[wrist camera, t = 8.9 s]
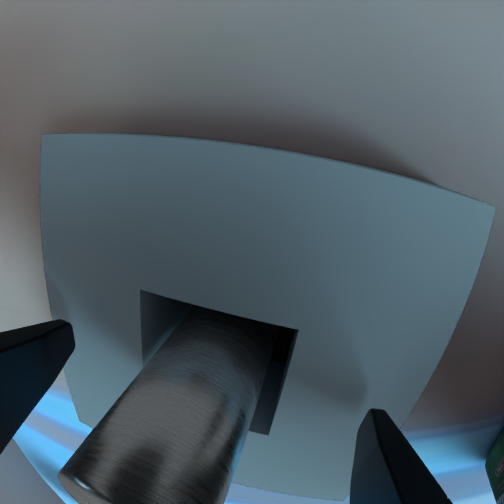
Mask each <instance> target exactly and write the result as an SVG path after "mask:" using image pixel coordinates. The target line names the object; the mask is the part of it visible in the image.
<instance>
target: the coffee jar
mask: <svg viewBox="0 0 504 504" xmlns="http://www.w3.org/2000/svg"><path fill="white" fill-rule="evenodd" d="M485 468H486V472H487V475H488V478H489V482H490V485H491V488H492V491H493V494H494V497H495V500H496V503H497V504H504V429H503V431H502V432H501V434H500V435H499V437H498V439H497V440H496V442H495V443H494V445H493V447H492V448H491V450H490V452H489V454H488V456H487V459H486V464H485Z"/></svg>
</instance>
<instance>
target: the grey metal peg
mask: <svg viewBox="0 0 504 504" xmlns="http://www.w3.org/2000/svg"><path fill="white" fill-rule="evenodd" d="M278 330H279V325H275V324H270V323H266V322H262V321H257V320H253V319H249V318H245V317H241V316H236V315H232V314H228V313H224V312H220V311H217V310H213V309H209V308H205V307H201V306H197V305H194V306H193V307H192V309H191V310H190V311H189V312H188V313H187V315H186V316H185V317H184V318H183V320H182V321H181V322H180V323H179V324H178V326H177V327H176V328H175V329H174V330H173V332H172V333H171V334H170V335H169V337H168V338H167V339H166V340H165V341H164V343H163V344H162V345H161V346H160V348H159V349H158V350H157V351H156V352H155V354H154V355H153V356H152V357H151V359H150V360H149V361H148V362H147V363H146V365H145V366H144V367H143V368H142V370H141V371H140V372H139V373H138V374H137V376H136V377H135V378H134V379H133V381H132V382H131V383H130V384H129V386H128V387H127V388H126V389H125V391H124V392H123V393H122V394H121V395H120V397H119V398H118V399H117V400H116V402H115V403H114V404H113V405H112V407H111V408H110V409H109V410H108V412H107V413H106V414H105V415H104V417H103V418H102V419H101V420H100V421H99V423H98V424H97V425H96V426H95V428H94V429H93V430H92V431H91V433H90V434H89V435H88V436H87V438H86V439H85V440H84V441H83V443H82V444H81V445H80V446H79V448H78V449H77V450H76V451H75V453H74V454H73V455H72V457H71V458H70V459H69V460H68V462H67V463H66V464H65V465H64V467H63V468H62V469H61V470H60V472H59V473H58V478H59V481H60V482H61V484H62V485H63V487H64V488H65V489H66V491H67V492H68V493H69V494H70V495H71V496H72V497H73V498H74V499H75V500H76V501H77V502H78V503H80V504H224V502H225V499H226V496H227V494H228V491H229V488H230V485H231V482H232V479H233V476H234V473H235V470H236V467H237V464H238V461H239V458H240V455H241V452H242V449H243V446H244V443H245V440H246V437H247V434H248V431H249V428H250V424H251V421H252V418H253V415H254V412H255V408H256V405H257V402H258V399H259V395H260V392H261V389H262V385H263V382H264V379H265V375H266V372H267V368H268V365H269V362H270V358H271V355H272V351H273V348H274V344H275V341H276V337H277V333H278Z"/></svg>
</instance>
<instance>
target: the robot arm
mask: <svg viewBox="0 0 504 504" xmlns="http://www.w3.org/2000/svg"><path fill="white" fill-rule="evenodd" d="M75 345H76V343H75V338H74V332H73V327H72V325H71V323H70V322H67V321H65V320H63V319H57V320H53V321H49V322H44V323H40V324H36V325H31V326H27V327H22V328H18V329H13V330H9V331H5V332H0V454H1V453H2V452H3V450H4V449H5V447H6V446H7V444H8V443H9V442H10V440H11V439H12V437H13V436H14V435H15V433H16V432H17V430H18V429H19V428H20V426H21V425H22V424H23V422H24V421H25V420H26V418H27V417H28V416H29V414H30V413H31V412H32V410H33V409H34V408H35V406H36V405H37V404H38V402H39V401H40V400H41V398H42V397H43V396H44V395H45V393H46V392H47V391H48V389H49V388H50V387H51V385H52V384H53V383H54V381H55V380H56V378H57V376H58V375H59V373H60V372H61V370H62V368H63V367H64V365H65V364H66V362H67V361H68V359H69V358H70V356H71V355H72V353H73V352H74V349H75ZM350 504H453V503H452V502H451V500H450V499H449V498H447V495H446V494H445V492H444V491H443V489H442V488H441V487H440V485H439V484H438V482H437V481H436V480H435V478H434V477H433V475H432V474H431V473H430V471H429V470H428V468H427V467H426V466H425V464H424V463H423V461H422V460H421V459H420V457H419V456H418V455H417V453H416V452H415V450H414V449H413V448H412V446H411V445H410V443H409V442H408V441H407V439H406V438H405V437H404V435H403V434H402V432H401V431H400V430H399V428H398V427H397V426H396V424H395V423H394V422H393V420H392V419H391V417H390V416H389V415H388V413H387V412H386V411H385V410H383V409H377V408H371V409H369V410H368V412H367V414H366V416H365V417H364V419H363V421H362V423H361V424H360V426H359V428H358V432H357V438H356V446H355V454H354V461H353V468H352V474H351V484H350Z"/></svg>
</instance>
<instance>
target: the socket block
mask: <svg viewBox="0 0 504 504" xmlns="http://www.w3.org/2000/svg"><path fill="white" fill-rule="evenodd" d="M495 211H496V207H495V206H492V205H490V204H487V203H485V202H482V201H480V200H477V199H474V198H472V197H469V196H466V195H463V194H461V193H458V192H455V191H452V190H449V189H446V188H444V187H441V186H437V185H434V184H431V183H427V182H424V181H420V180H417V179H413V178H410V177H406V176H402V175H398V174H395V173H391V172H387V171H383V170H379V169H375V168H371V167H366V166H362V165H358V164H353V163H349V162H344V161H340V160H335V159H330V158H325V157H320V156H315V155H310V154H304V153H299V152H293V151H287V150H281V149H275V148H269V147H262V146H255V145H248V144H241V143H233V142H225V141H217V140H208V139H198V138H188V137H176V136H163V135H148V134H129V133H64V134H42V142H41V159H40V218H41V236H42V249H43V259H44V269H45V277H46V284H47V291H48V298H49V304H50V310H51V316H52V321H53V320H57V319H63V320H65V321H67V322H70V323H71V325H72V327H73V332H74V338H75V343H76V345H75V349H74V352H73V353H72V355H71V356H70V358H69V359H68V361H67V362H66V364H65V365H64V367H63V369H64V373H65V376H66V380H67V383H68V387H69V390H70V393H71V397H72V400H73V403H74V406H75V409H76V412H77V415H78V418H79V421H80V422H82V423H84V424H86V425H88V426H89V427H91V428H93V429H94V428H95V426H96V425H97V424H98V423H99V421H100V420H101V419H102V418H103V417H104V415H105V414H106V413H107V412H108V410H109V409H110V408H111V407H112V405H113V404H114V403H115V402H116V400H117V399H118V398H119V397H120V395H121V394H122V393H123V392H124V391H125V389H126V388H127V387H128V386H129V384H130V383H131V382H132V381H133V379H134V378H135V377H136V376H137V374H138V373H139V372H140V371H141V370H142V368H143V367H144V366H145V365H146V363H147V362H148V361H149V360H150V359H151V357H152V356H153V355H154V354H155V352H156V351H157V350H158V349H159V348H160V346H161V345H162V344H163V343H164V341H165V340H166V339H167V338H168V337H169V335H170V334H171V333H172V332H173V330H174V329H175V328H176V327H177V326H178V324H179V323H180V322H181V321H182V320H183V318H184V317H185V316H186V315H187V313H188V312H189V311H190V310H191V304H194V305H197V306H201V307H205V308H209V309H213V310H217V311H220V312H224V313H228V314H232V315H236V316H241V317H245V318H249V319H253V320H257V321H262V322H266V323H270V324H275V325H279V326H284V327H288V328H293V329H294V332H293V336H292V340H291V344H290V348H289V352H288V355H287V359H286V363H283V362H279V361H274V360H270V362H269V365H268V368H267V372H266V375H265V379H264V382H263V385H262V389H261V392H260V395H259V399H258V402H257V405H256V408H255V412H254V415H253V418H252V421H251V424H250V428H249V431H248V434H247V437H246V440H245V443H244V446H243V449H242V452H241V455H240V458H239V461H238V464H237V467H236V470H235V473H234V476H233V479H232V483H236V484H240V485H244V486H248V487H253V488H257V489H262V490H267V491H272V492H277V493H282V494H288V495H294V496H301V497H308V498H315V499H324V500H334V501H344V500H345V499H346V498H347V497H348V496H349V494H350V484H351V474H352V468H353V461H354V454H355V446H356V438H357V432H358V428H359V426H360V424H361V423H362V421H363V419H364V417H365V416H366V414H367V412H368V410H369V409H371V408H377V409H383V410H385V411H386V412H387V413H388V415H389V416H390V417H391V419H392V420H393V422H394V423H395V424H396V426H397V427H398V428H399V429H400V428H401V426H402V425H403V423H404V422H405V420H406V419H407V417H408V415H409V414H410V412H411V411H412V409H413V407H414V406H415V404H416V403H417V401H418V399H419V398H420V396H421V394H422V392H423V391H424V389H425V387H426V385H427V384H428V382H429V380H430V378H431V376H432V375H433V373H434V371H435V369H436V367H437V365H438V363H439V361H440V359H441V357H442V355H443V353H444V351H445V349H446V347H447V345H448V343H449V341H450V339H451V337H452V335H453V332H454V330H455V328H456V326H457V323H458V321H459V319H460V317H461V314H462V312H463V309H464V307H465V304H466V302H467V299H468V297H469V294H470V292H471V289H472V286H473V284H474V281H475V278H476V275H477V272H478V269H479V266H480V263H481V260H482V257H483V254H484V251H485V248H486V244H487V241H488V237H489V234H490V230H491V226H492V223H493V219H494V215H495Z"/></svg>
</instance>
